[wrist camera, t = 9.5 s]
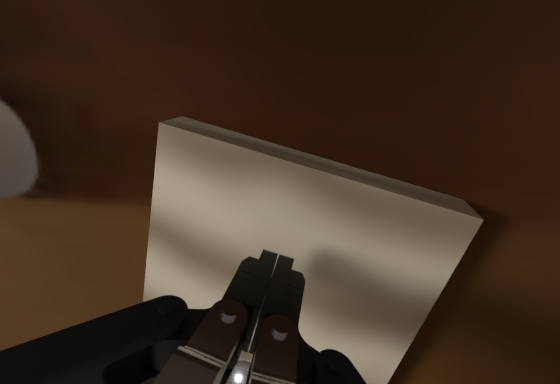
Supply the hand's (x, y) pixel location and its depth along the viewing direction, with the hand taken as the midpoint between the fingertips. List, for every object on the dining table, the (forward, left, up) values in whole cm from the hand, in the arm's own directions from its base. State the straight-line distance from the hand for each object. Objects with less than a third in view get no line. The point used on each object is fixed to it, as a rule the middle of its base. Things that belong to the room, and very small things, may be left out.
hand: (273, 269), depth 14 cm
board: (+7, 0, -5) cm, 8 cm away
